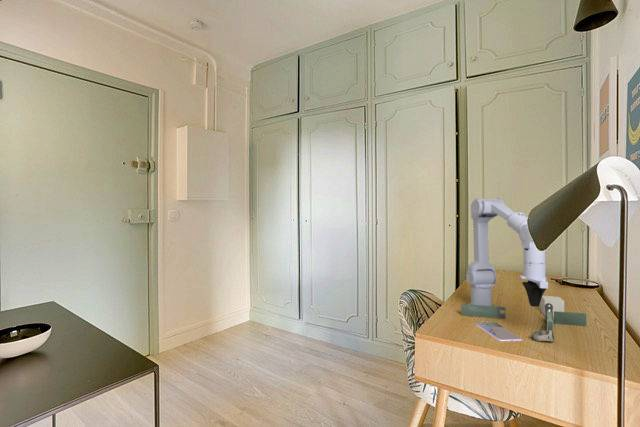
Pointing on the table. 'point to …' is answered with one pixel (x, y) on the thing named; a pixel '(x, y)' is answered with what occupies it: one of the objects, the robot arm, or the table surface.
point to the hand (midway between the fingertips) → (534, 305)
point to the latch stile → (483, 311)
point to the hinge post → (566, 317)
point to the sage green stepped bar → (549, 321)
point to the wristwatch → (543, 335)
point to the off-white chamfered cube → (555, 301)
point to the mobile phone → (498, 331)
